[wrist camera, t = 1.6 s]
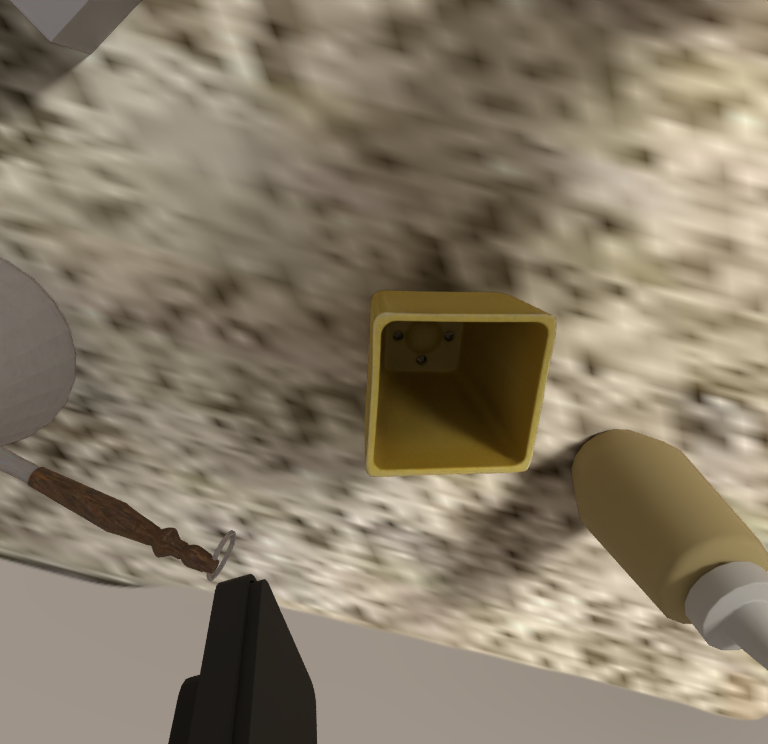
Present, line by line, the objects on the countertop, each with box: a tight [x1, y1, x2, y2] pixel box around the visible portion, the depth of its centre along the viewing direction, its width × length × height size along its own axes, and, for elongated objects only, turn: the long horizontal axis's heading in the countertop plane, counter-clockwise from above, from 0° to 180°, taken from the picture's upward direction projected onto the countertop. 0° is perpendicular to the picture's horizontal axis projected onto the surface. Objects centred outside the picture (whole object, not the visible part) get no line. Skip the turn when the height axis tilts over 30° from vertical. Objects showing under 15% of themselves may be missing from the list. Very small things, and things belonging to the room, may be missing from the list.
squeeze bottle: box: [571, 429, 768, 670], centre depth 34 cm, size 8×8×18 cm
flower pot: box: [365, 290, 556, 477], centre depth 32 cm, size 9×9×9 cm
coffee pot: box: [0, 258, 236, 581], centre depth 27 cm, size 21×12×15 cm, turn 69°
